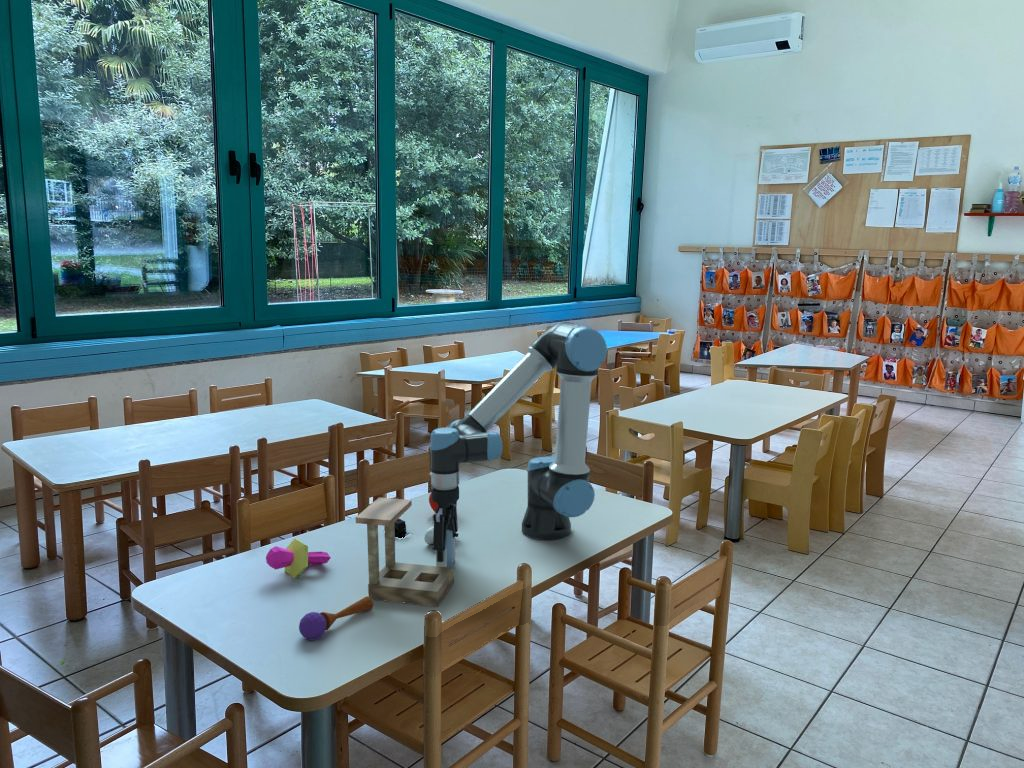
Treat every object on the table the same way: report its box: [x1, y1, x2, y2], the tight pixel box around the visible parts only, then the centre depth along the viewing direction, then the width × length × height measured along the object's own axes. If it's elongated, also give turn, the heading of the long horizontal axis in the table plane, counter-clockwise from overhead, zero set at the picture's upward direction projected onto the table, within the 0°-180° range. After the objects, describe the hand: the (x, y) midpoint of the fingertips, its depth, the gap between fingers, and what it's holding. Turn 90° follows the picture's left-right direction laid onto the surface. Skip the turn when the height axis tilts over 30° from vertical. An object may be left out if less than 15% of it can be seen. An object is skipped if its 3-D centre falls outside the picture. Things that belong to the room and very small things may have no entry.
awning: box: [355, 496, 413, 584], centre depth 200 cm, size 9×15×18 cm, turn 167°
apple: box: [428, 493, 438, 514], centre depth 254 cm, size 9×9×8 cm
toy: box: [265, 538, 332, 579], centre depth 210 cm, size 10×18×10 cm, turn 132°
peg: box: [445, 530, 454, 568], centre depth 214 cm, size 4×4×10 cm
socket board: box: [367, 561, 455, 608], centre depth 200 cm, size 18×14×4 cm
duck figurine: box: [423, 523, 459, 545], centre depth 231 cm, size 12×8×11 cm
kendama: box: [298, 595, 374, 641], centre depth 183 cm, size 6×6×20 cm
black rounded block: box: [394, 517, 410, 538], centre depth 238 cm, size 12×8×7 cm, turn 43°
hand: (446, 565), depth 215 cm, fingers open, 7 cm apart
